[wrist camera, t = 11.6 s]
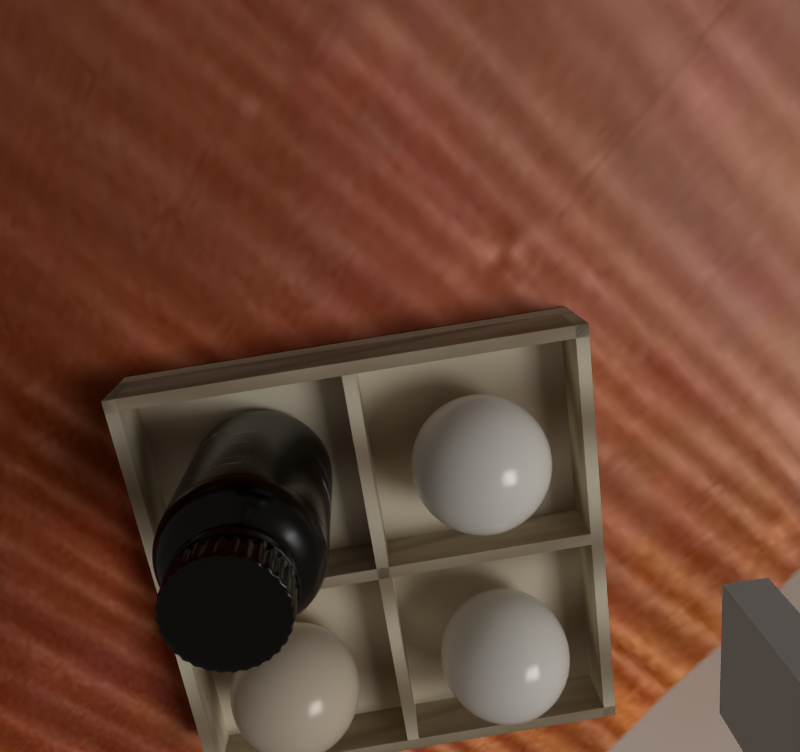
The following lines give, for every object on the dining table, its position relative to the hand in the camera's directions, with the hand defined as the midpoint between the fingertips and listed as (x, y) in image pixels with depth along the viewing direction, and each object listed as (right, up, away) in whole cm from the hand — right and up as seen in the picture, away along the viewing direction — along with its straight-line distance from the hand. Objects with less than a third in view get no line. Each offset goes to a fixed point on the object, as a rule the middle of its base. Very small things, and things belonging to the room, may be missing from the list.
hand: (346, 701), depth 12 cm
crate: (0, -3, +26) cm, 27 cm away
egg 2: (+4, +3, +24) cm, 25 cm away
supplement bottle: (-6, +1, +24) cm, 25 cm away
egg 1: (-5, -9, +27) cm, 29 cm away
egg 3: (+6, -7, +27) cm, 29 cm away
